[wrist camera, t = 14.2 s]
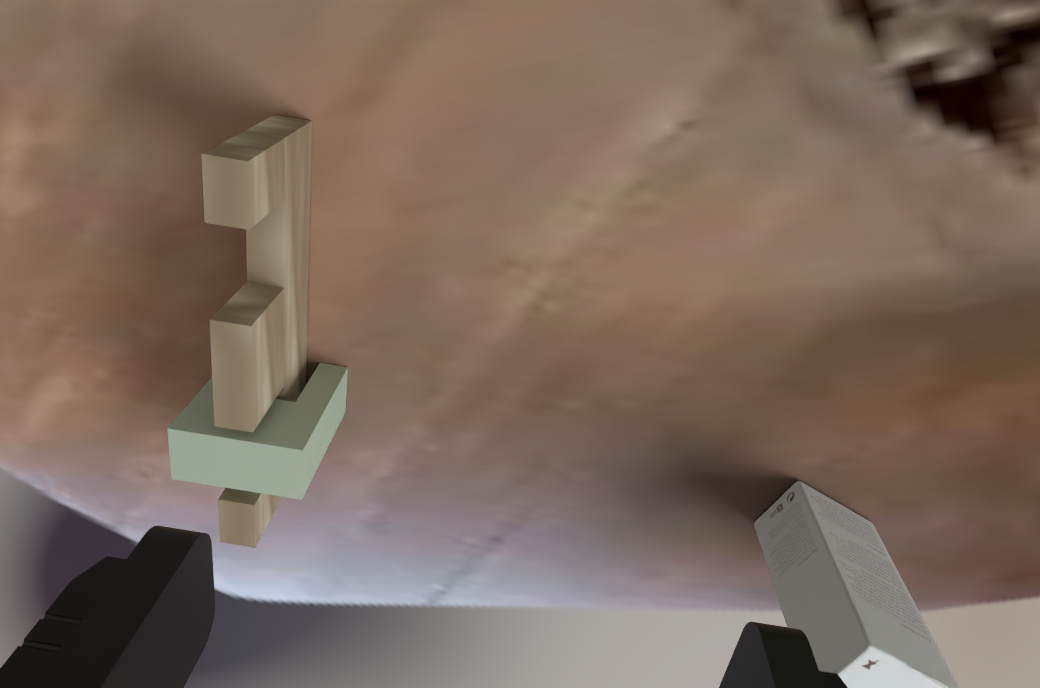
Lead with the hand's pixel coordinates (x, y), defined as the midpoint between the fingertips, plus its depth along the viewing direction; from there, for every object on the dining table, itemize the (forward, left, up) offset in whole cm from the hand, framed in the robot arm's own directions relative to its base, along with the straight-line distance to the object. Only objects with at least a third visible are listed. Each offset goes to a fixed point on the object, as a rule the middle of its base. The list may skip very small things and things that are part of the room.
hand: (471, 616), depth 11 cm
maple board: (+12, +10, -28) cm, 32 cm away
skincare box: (-20, +19, -28) cm, 39 cm away
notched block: (+12, +15, -28) cm, 34 cm away
